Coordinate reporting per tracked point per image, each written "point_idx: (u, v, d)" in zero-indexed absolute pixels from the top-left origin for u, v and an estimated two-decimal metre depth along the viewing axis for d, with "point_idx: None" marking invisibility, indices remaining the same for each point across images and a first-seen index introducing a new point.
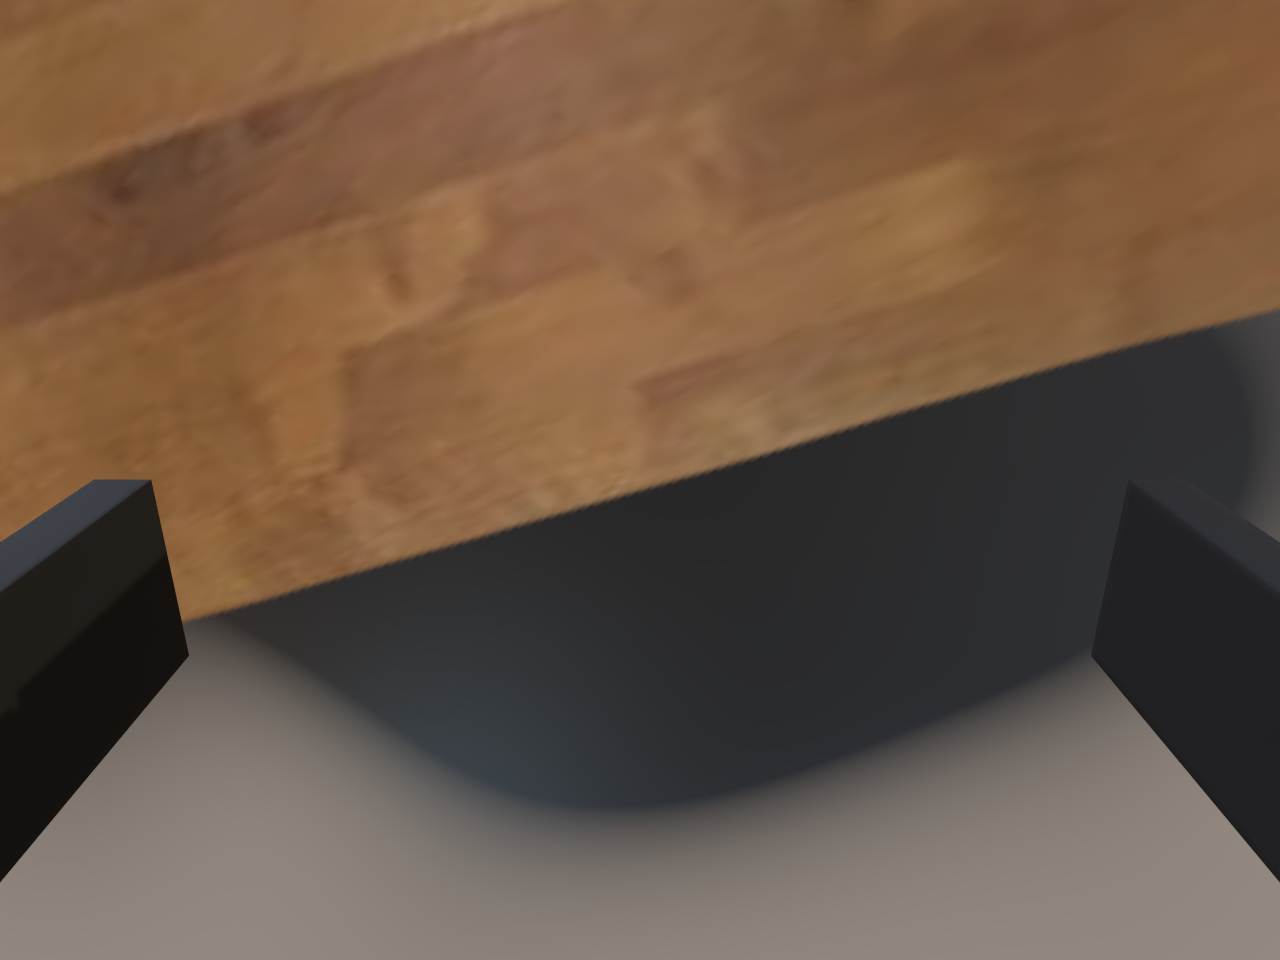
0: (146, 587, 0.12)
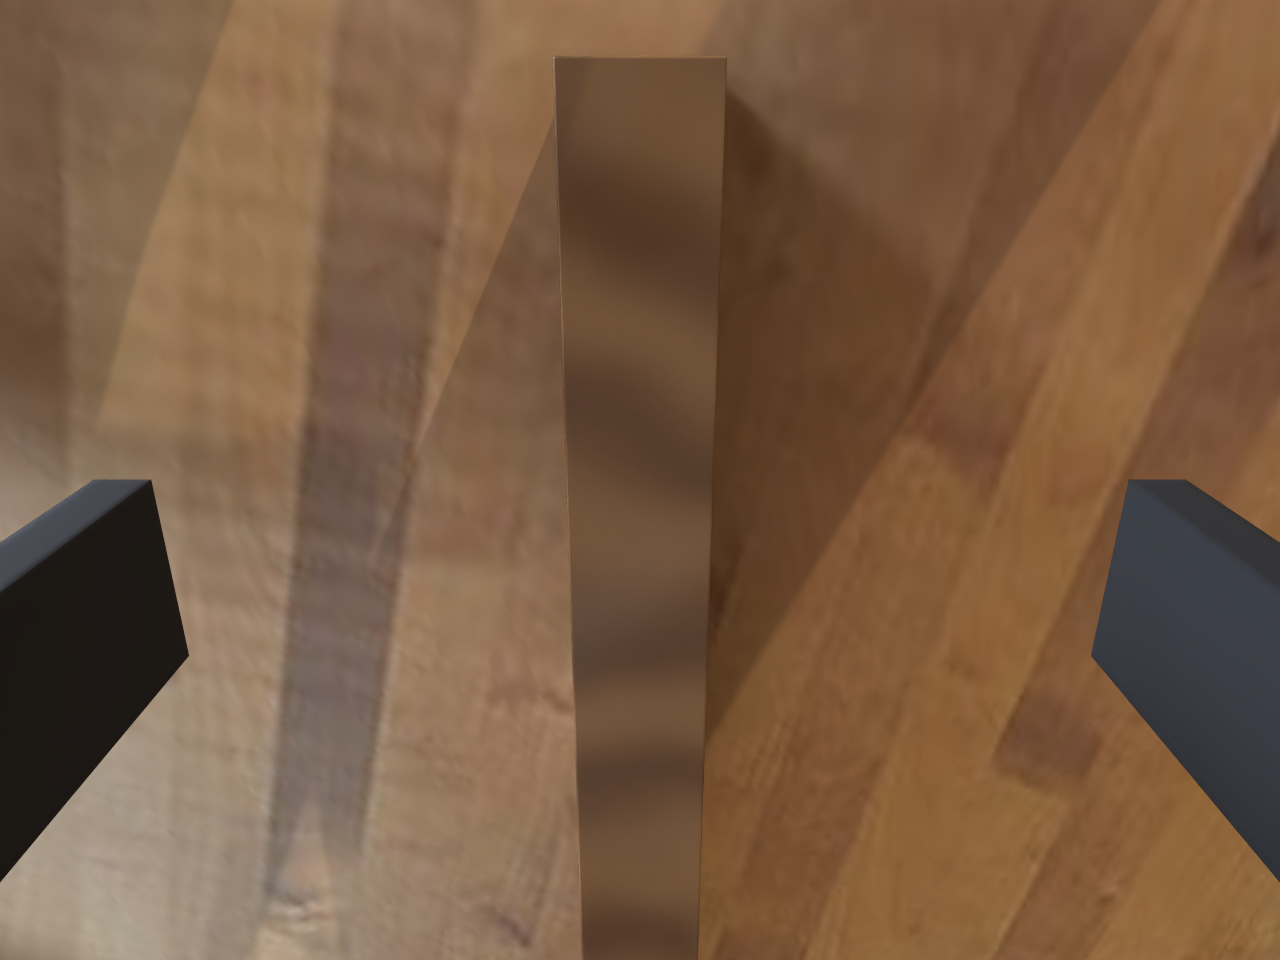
0: (146, 587, 0.12)
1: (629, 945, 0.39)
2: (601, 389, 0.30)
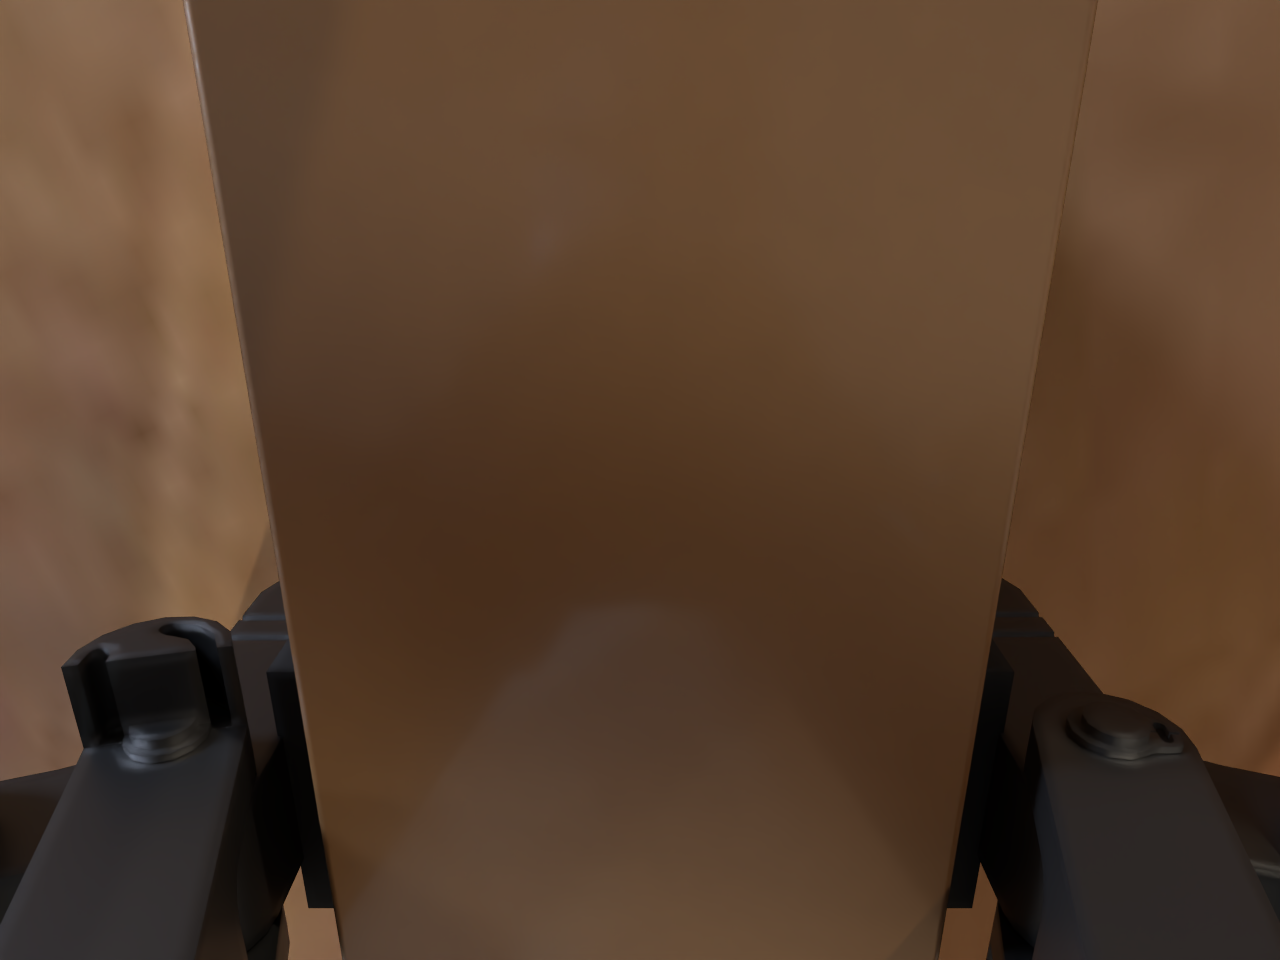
0: None
1: None
2: None
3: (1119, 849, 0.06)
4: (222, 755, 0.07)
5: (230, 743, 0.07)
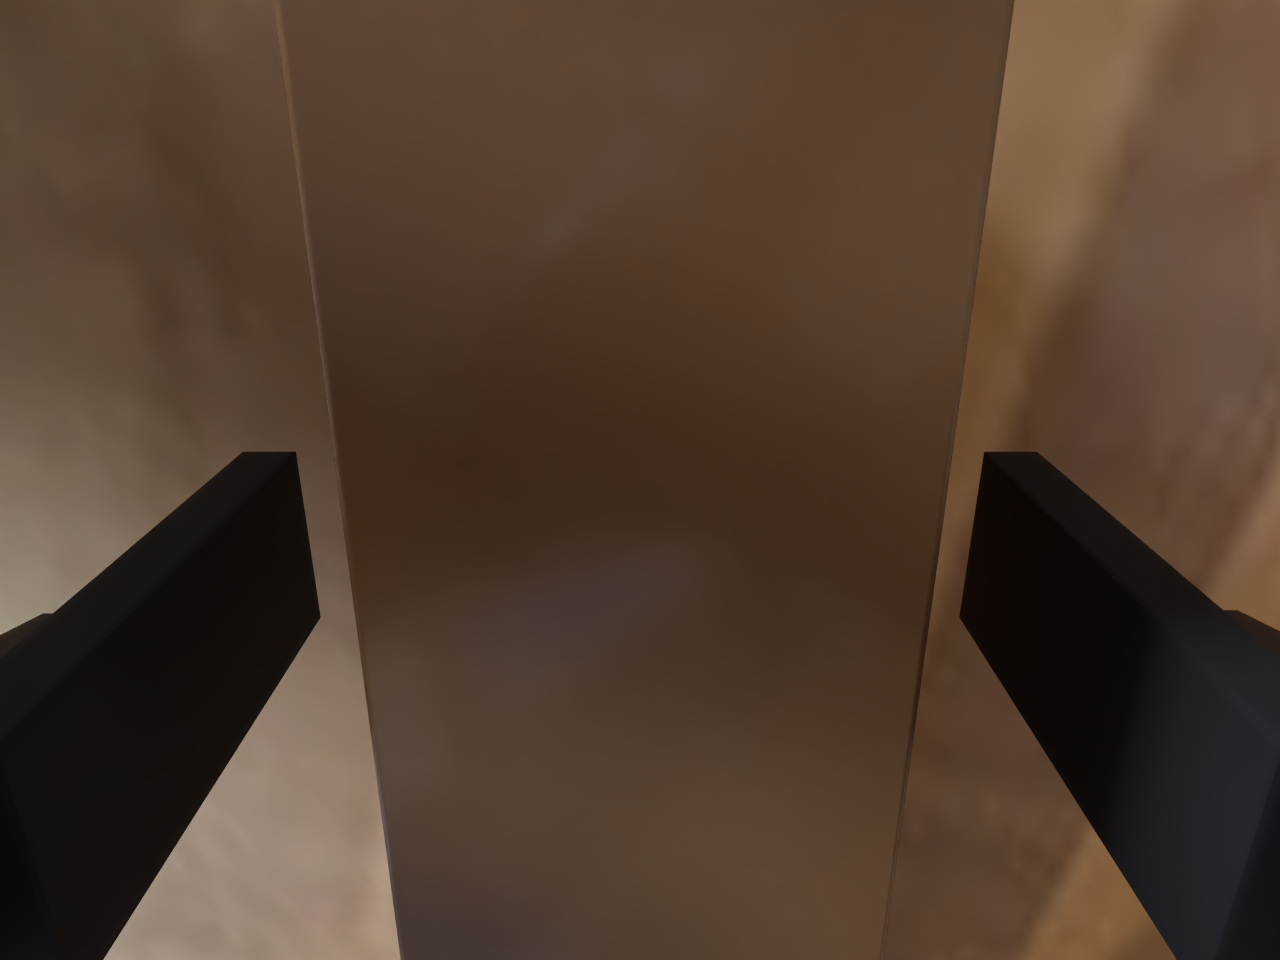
0: (292, 551, 0.13)
1: None
2: None
3: None
4: None
5: None
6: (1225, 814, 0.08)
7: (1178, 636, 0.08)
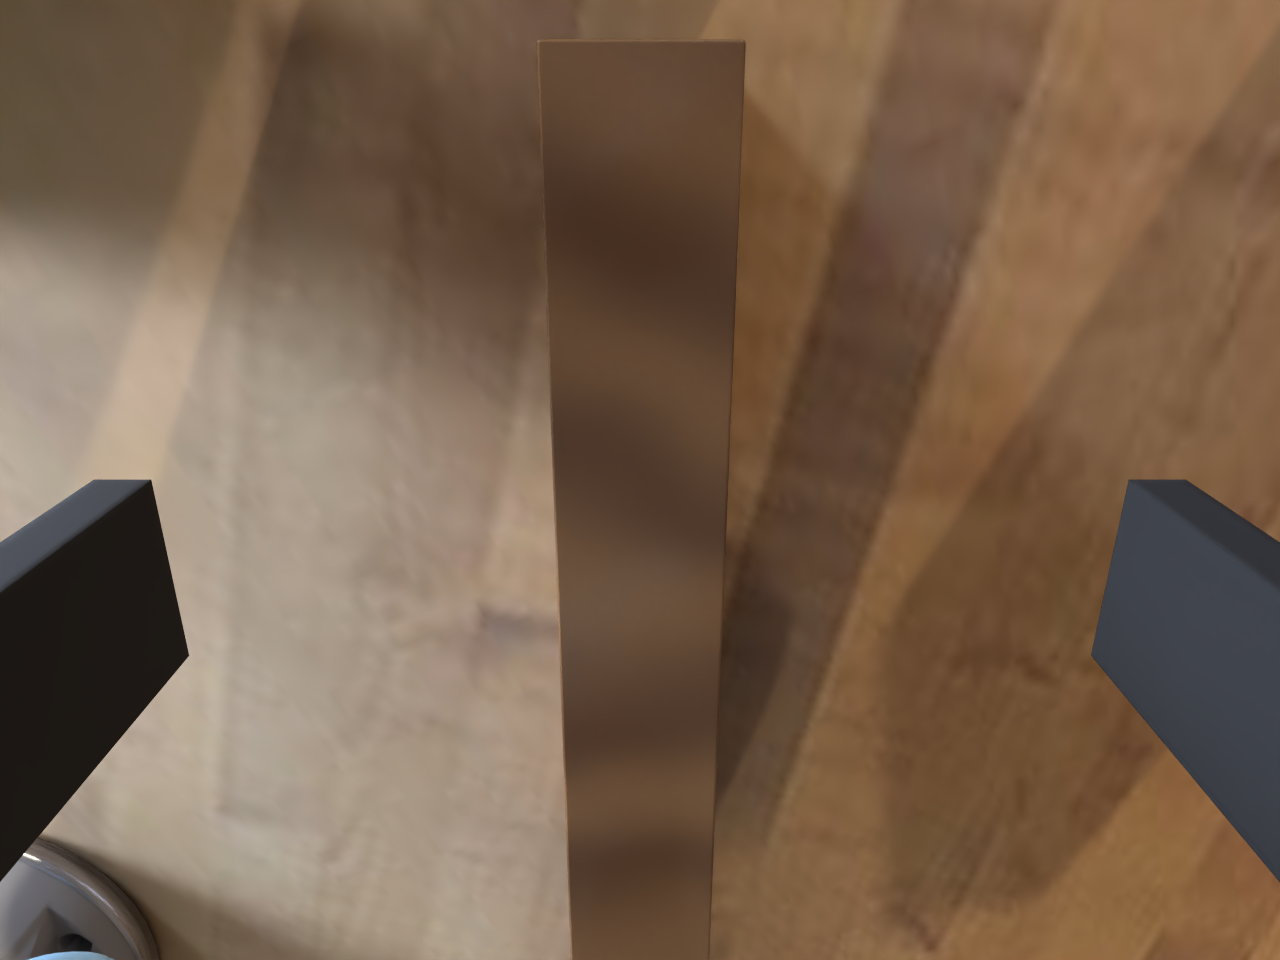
0: (146, 587, 0.12)
1: None
2: (595, 432, 0.25)
3: None
4: None
5: None
6: None
7: None
